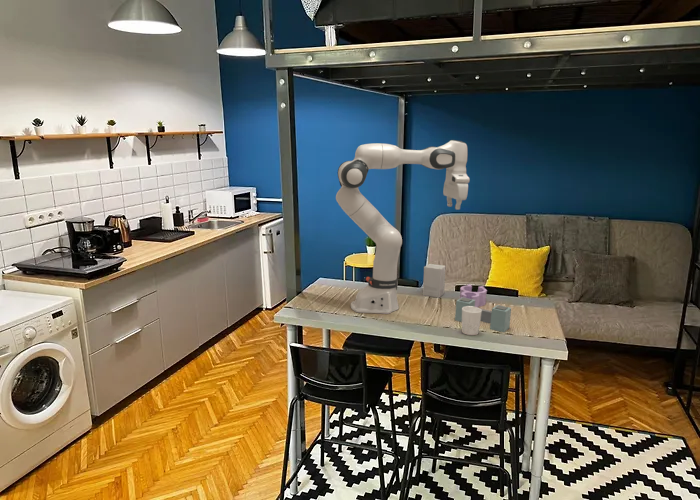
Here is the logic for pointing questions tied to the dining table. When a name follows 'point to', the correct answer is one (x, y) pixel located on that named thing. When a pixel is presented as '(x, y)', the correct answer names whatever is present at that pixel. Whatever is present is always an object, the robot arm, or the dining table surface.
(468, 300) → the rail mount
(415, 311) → the dining table surface
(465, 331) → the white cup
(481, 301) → the clip
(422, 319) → the dining table surface
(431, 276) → the supplement box
